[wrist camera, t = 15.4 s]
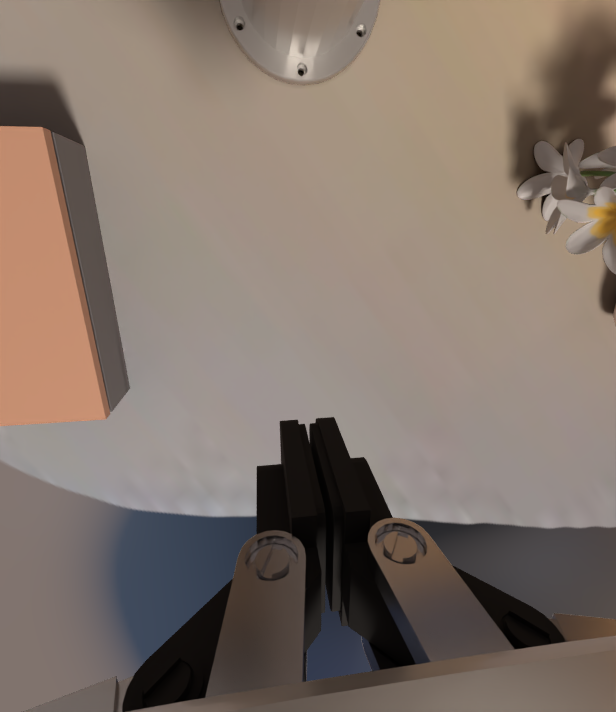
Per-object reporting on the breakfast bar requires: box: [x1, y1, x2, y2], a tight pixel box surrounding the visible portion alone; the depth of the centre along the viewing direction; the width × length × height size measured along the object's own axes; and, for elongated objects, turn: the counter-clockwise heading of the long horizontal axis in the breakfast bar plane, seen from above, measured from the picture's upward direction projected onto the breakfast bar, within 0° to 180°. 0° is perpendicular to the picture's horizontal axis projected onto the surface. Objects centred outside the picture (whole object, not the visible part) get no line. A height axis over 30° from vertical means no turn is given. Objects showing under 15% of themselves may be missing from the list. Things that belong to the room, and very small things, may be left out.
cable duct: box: [51, 132, 130, 412], centre depth 31 cm, size 22×11×5 cm, turn 0°
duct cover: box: [0, 126, 110, 426], centre depth 28 cm, size 22×12×1 cm, turn 0°
